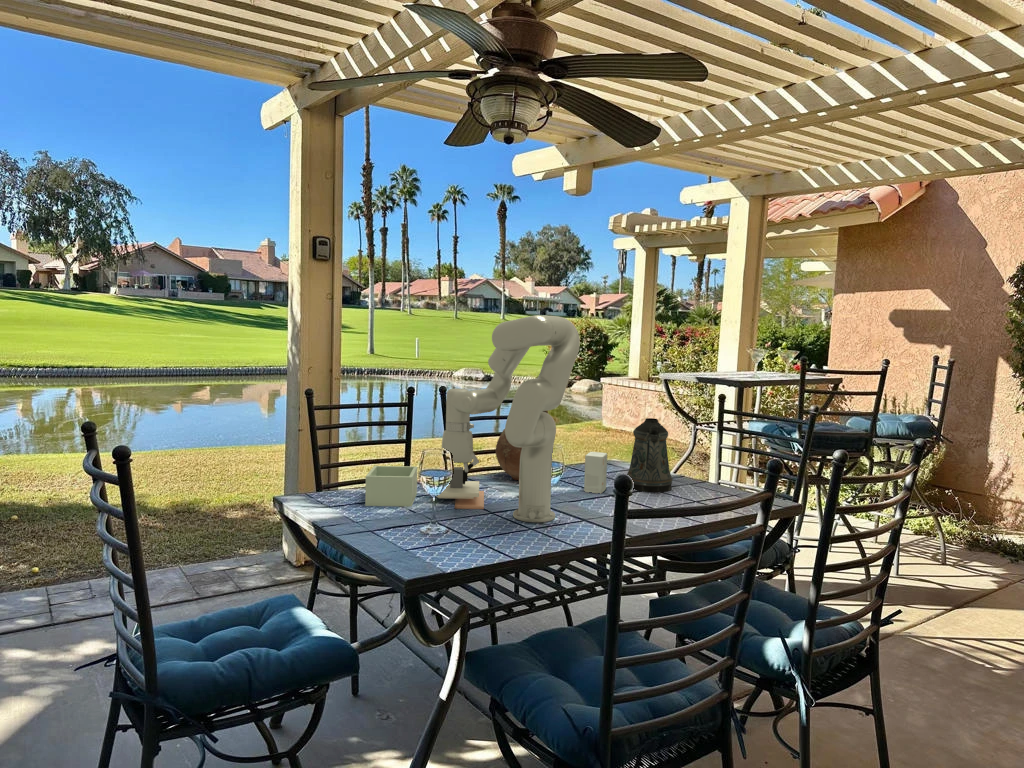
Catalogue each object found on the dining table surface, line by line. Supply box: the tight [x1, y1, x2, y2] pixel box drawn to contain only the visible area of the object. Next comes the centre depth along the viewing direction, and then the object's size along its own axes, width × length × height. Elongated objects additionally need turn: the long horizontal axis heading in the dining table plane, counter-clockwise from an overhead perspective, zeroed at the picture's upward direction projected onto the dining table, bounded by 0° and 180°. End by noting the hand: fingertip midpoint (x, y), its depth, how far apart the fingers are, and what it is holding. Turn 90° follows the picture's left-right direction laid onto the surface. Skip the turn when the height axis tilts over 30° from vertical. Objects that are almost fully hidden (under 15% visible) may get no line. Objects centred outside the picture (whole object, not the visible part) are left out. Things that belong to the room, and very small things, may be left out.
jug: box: [495, 410, 549, 482], centre depth 253 cm, size 22×22×30 cm
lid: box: [437, 466, 480, 500], centre depth 219 cm, size 17×15×8 cm
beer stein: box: [626, 417, 673, 494], centre depth 243 cm, size 16×19×25 cm
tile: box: [453, 490, 485, 510], centre depth 220 cm, size 20×18×1 cm
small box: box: [583, 451, 608, 494], centre depth 238 cm, size 8×6×13 cm
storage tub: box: [364, 465, 418, 507], centre depth 214 cm, size 16×14×10 cm
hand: (456, 482), depth 219 cm, fingers open, 4 cm apart
